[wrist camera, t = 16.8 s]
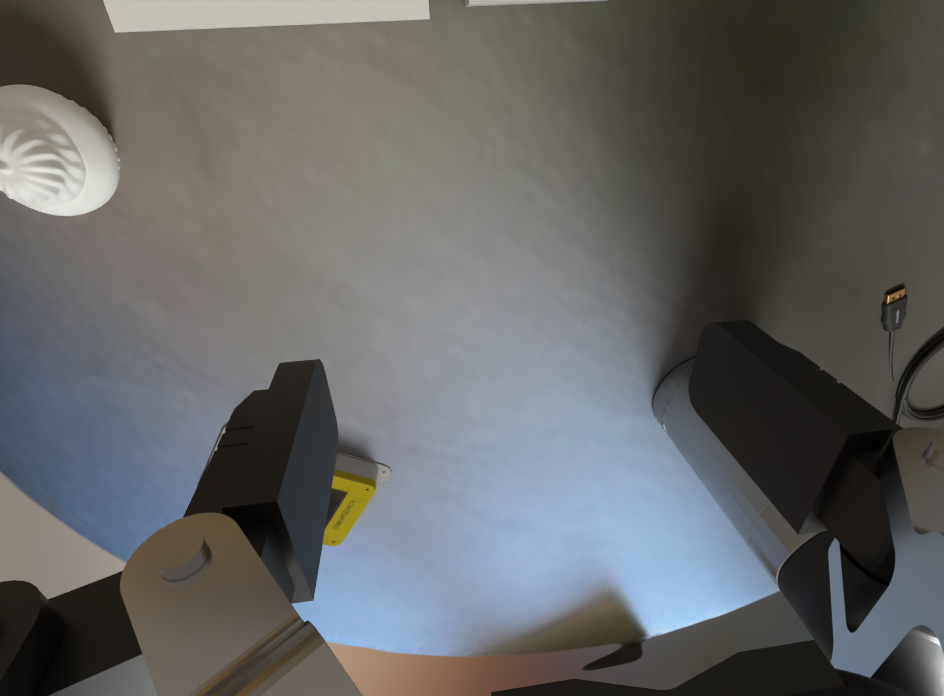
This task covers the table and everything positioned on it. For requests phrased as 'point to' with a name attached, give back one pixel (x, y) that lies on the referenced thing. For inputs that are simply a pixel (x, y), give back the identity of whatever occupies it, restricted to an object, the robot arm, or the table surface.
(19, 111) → the white rounded piece
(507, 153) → the table surface
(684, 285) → the table surface
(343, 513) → the emergency button
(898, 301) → the cable
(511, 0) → the ink pad
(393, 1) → the sheet
